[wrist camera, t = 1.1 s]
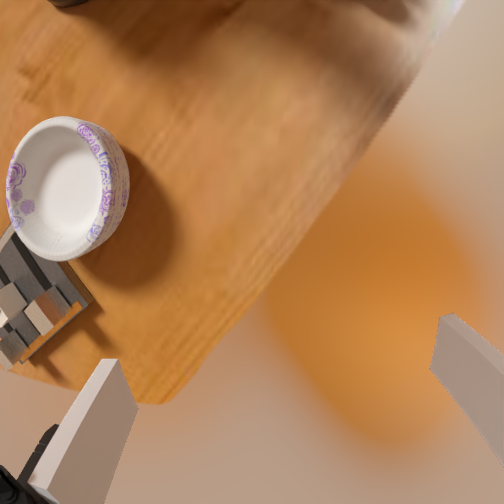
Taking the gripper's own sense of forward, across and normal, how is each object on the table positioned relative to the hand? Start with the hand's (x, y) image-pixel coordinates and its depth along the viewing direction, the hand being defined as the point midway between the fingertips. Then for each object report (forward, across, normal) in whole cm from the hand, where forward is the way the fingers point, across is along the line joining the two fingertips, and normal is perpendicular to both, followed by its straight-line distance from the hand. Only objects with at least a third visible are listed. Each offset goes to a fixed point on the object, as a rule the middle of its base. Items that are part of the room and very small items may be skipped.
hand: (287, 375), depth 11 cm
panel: (+25, -36, -4) cm, 44 cm away
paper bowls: (+25, -20, +9) cm, 34 cm away
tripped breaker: (+23, -36, -4) cm, 43 cm away
